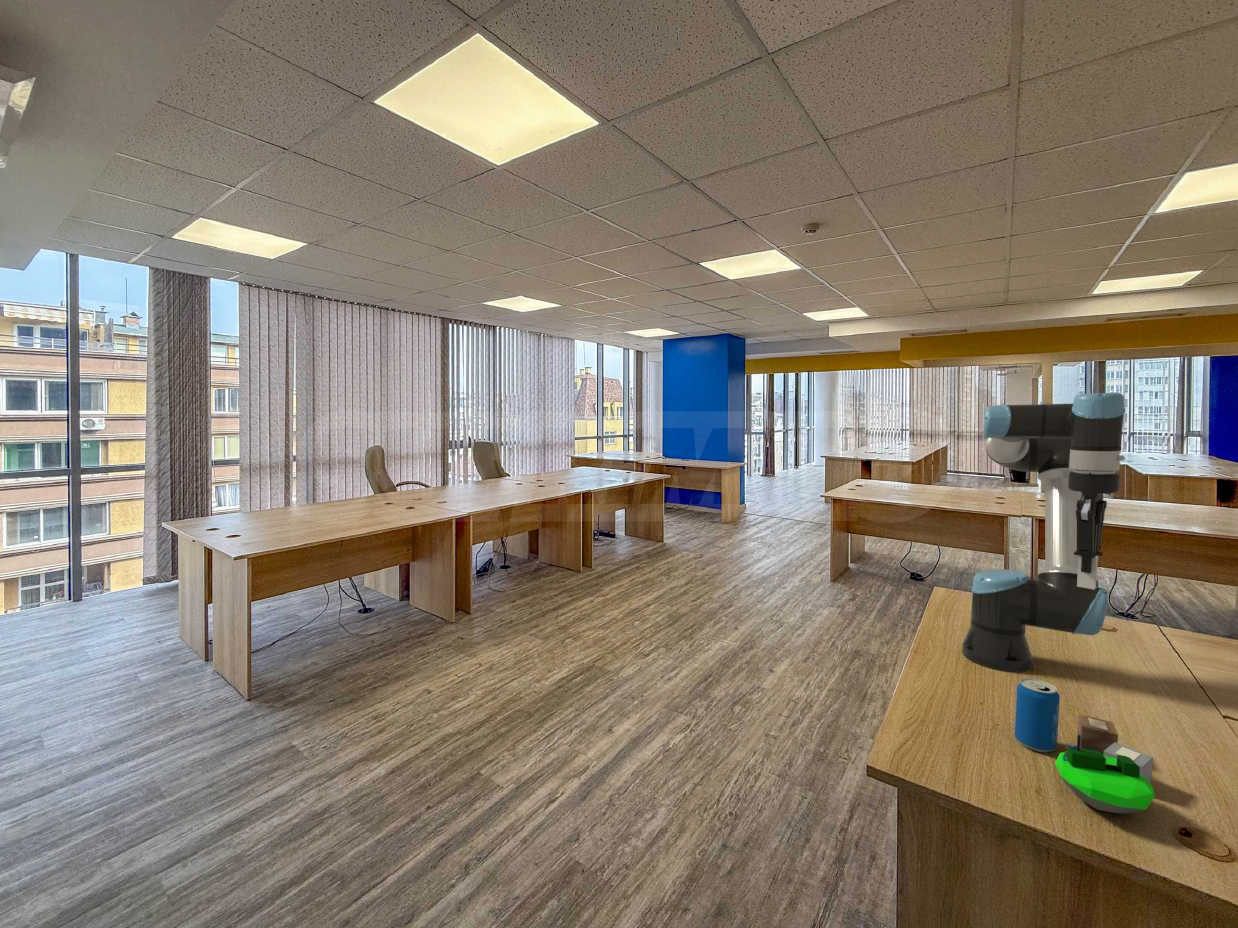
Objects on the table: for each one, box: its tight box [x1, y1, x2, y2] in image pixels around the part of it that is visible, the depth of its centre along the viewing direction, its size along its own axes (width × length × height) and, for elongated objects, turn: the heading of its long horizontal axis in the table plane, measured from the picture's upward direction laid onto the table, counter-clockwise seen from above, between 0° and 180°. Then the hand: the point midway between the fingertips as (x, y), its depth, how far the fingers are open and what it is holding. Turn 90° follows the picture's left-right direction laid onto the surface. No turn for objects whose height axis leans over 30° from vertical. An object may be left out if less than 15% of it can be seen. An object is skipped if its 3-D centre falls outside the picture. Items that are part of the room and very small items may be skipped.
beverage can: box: [1014, 677, 1061, 753], centre depth 103 cm, size 6×6×12 cm
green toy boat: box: [1055, 734, 1155, 815], centre depth 87 cm, size 12×12×11 cm
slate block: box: [1103, 742, 1154, 785], centre depth 93 cm, size 5×5×5 cm
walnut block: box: [1077, 714, 1119, 755], centre depth 101 cm, size 5×5×5 cm
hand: (1086, 586), depth 107 cm, fingers closed
